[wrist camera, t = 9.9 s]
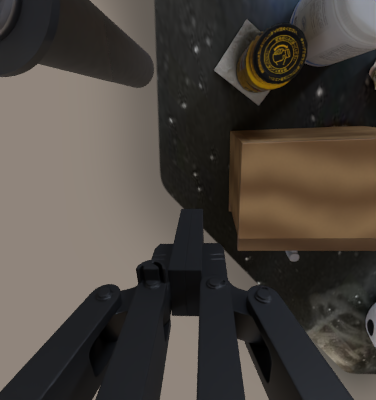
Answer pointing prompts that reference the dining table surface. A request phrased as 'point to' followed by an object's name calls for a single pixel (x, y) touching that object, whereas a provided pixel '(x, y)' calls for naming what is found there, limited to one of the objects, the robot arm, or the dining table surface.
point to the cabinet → (304, 189)
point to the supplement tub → (336, 29)
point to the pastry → (373, 73)
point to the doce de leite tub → (371, 323)
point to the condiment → (263, 59)
